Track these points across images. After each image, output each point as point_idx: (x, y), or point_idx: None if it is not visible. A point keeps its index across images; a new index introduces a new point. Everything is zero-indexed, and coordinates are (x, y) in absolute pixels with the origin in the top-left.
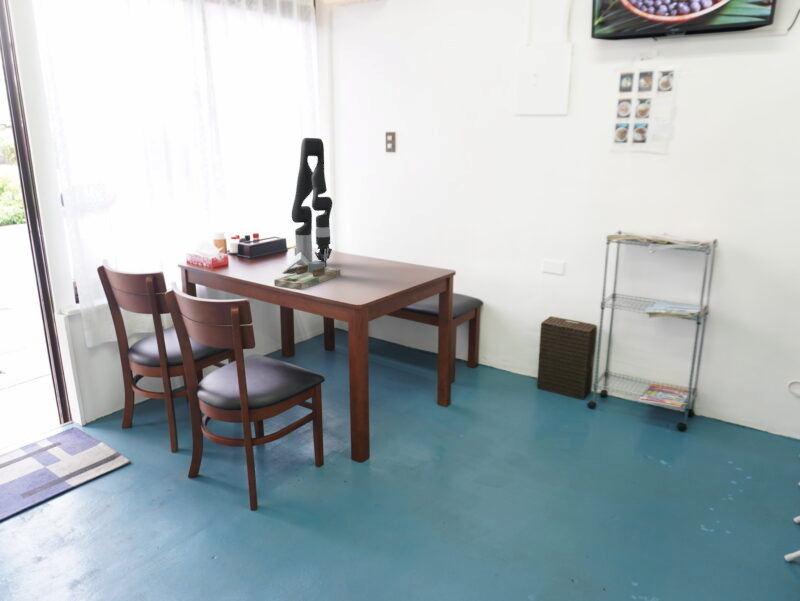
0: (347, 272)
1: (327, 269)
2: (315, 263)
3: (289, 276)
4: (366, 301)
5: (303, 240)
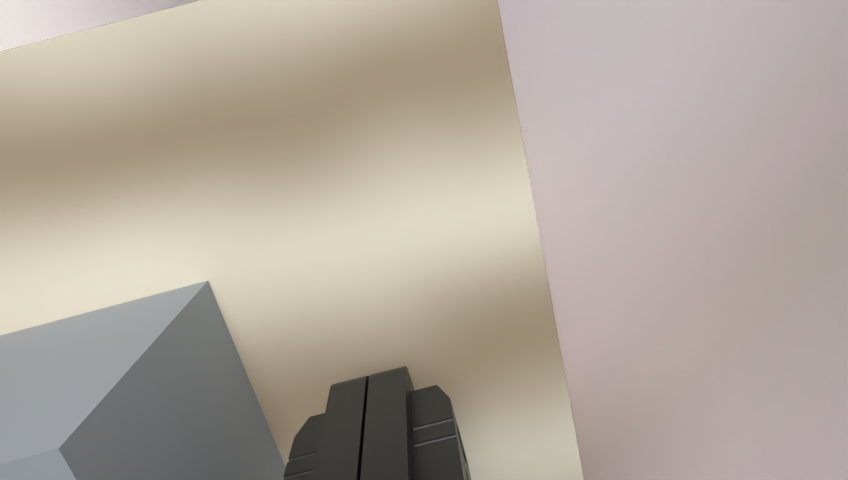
0: (800, 441)
1: None
2: None
3: None
4: None
5: None
